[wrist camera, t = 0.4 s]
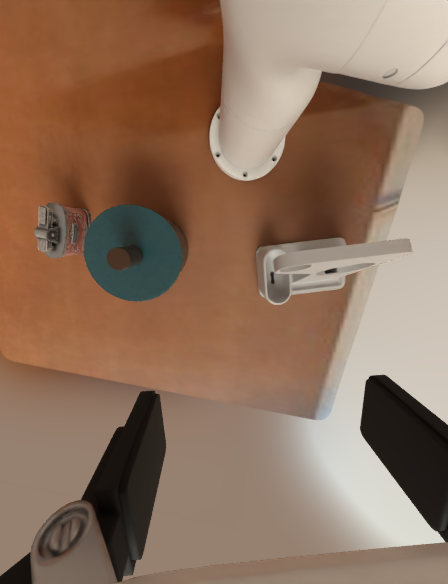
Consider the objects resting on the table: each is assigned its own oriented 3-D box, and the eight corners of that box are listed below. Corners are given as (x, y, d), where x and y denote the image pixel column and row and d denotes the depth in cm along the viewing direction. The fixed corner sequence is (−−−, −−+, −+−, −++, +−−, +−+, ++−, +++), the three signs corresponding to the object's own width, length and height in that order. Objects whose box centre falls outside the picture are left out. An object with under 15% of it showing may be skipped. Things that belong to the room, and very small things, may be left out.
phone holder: (257, 297, 45) (285, 337, 28) (253, 246, 43) (280, 253, 25) (343, 287, 45) (424, 319, 28) (343, 235, 43) (433, 235, 25)
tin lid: (84, 202, 29) (51, 194, 23) (183, 208, 30) (176, 201, 24) (92, 297, 32) (65, 311, 26) (182, 300, 33) (175, 315, 27)
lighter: (89, 256, 42) (52, 262, 32) (70, 252, 41) (27, 257, 32) (93, 211, 40) (54, 203, 30) (73, 206, 39) (27, 197, 30)
